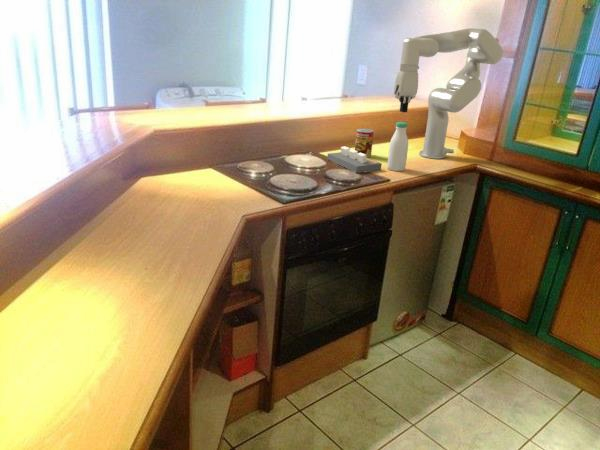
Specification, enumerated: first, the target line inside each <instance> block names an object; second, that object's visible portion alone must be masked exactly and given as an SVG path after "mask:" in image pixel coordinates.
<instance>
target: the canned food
mask: <svg viewBox="0 0 600 450" xmlns="http://www.w3.org/2000/svg"><path fill="white" fill-rule="evenodd" d="M373 140H374V130H373V129H369V128H357V129H356V134H355V145H354V150H356V151H358V153H360V152H361V153H363V154H366V157H367V158H369V159H370V158H371V157H372V151H373V142H374V141H373Z"/></svg>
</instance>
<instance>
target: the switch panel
mask: <svg viewBox="0 0 600 450" xmlns="http://www.w3.org/2000/svg"><path fill="white" fill-rule="evenodd" d="M327 158H328V159H330V160H332V161H334V162H336V163H338V164H339V165H341V166H343V167H346V168H348V169H351V170H353V171H356V172H364V171H367V172H366V173H371V172H378V171H381V170H382V166H383V165H382V163H381V162H379V161H377V160H374V159H371V158H370V157H369V158H367V157H366V158H367V162H365V163H361V162H359V161H357V159H355V160H354V159H352V158H350V157H349V156H345V155H343V154H342V153H341V151H340V152H339V151H338V152H331V153H327ZM339 165H338V166H339ZM341 166H340V167H341ZM343 167H342V168H343ZM348 169H347V170H348ZM364 173H365V172H364Z"/></svg>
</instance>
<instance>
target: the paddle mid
mask: <svg viewBox="0 0 600 450" xmlns="http://www.w3.org/2000/svg"><path fill="white" fill-rule="evenodd" d="M357 154H358V151H356V150H355V149H353V148H352V149H350V150H349V157H350V158H352V159H354V160H355V159H357Z"/></svg>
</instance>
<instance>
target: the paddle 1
mask: <svg viewBox="0 0 600 450" xmlns="http://www.w3.org/2000/svg"><path fill="white" fill-rule="evenodd" d="M349 150H351V149H350V147H348V146H345V145H344V146H340V152H341V153H342V154H343V155H345V156H349Z"/></svg>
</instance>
